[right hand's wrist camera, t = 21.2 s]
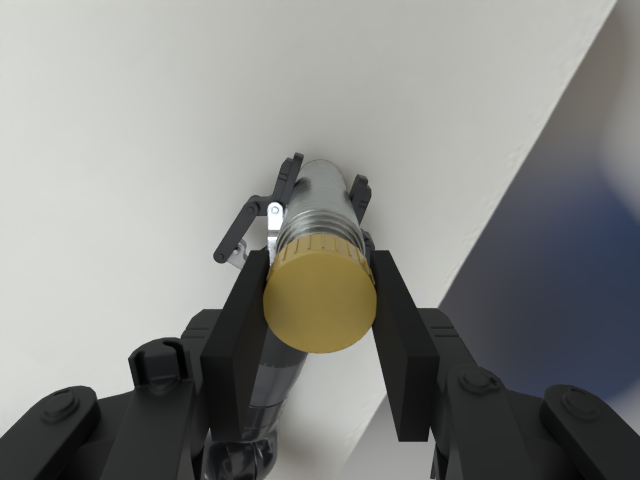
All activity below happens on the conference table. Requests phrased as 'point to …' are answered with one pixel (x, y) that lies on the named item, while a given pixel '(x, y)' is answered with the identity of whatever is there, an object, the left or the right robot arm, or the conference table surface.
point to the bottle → (320, 207)
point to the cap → (320, 294)
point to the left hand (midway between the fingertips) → (330, 166)
